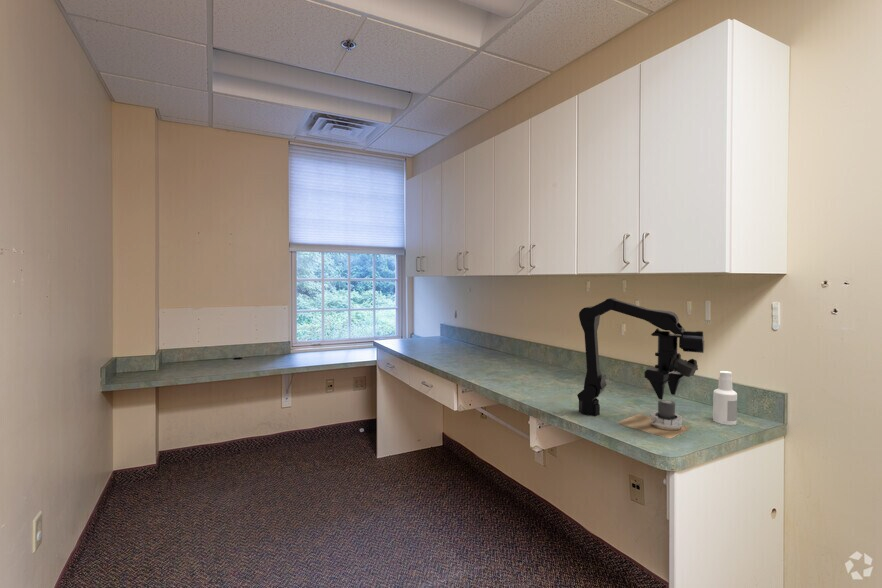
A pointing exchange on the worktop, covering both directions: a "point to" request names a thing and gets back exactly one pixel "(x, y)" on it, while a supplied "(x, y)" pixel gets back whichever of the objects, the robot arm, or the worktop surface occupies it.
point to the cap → (666, 409)
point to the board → (649, 426)
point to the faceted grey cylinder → (666, 422)
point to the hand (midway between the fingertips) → (666, 396)
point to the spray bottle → (725, 400)
